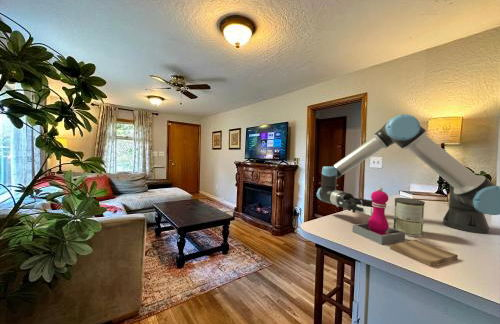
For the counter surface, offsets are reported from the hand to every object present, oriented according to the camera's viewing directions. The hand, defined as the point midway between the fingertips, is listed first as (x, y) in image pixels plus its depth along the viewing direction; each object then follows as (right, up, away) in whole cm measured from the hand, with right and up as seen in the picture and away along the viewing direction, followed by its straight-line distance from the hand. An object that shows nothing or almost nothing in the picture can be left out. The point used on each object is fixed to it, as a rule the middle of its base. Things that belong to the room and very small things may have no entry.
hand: (383, 210), depth 81 cm
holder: (-1, -11, +3) cm, 11 cm away
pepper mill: (-1, -11, +3) cm, 11 cm away
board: (+5, -11, -12) cm, 18 cm away
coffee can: (+15, -11, +8) cm, 20 cm away
